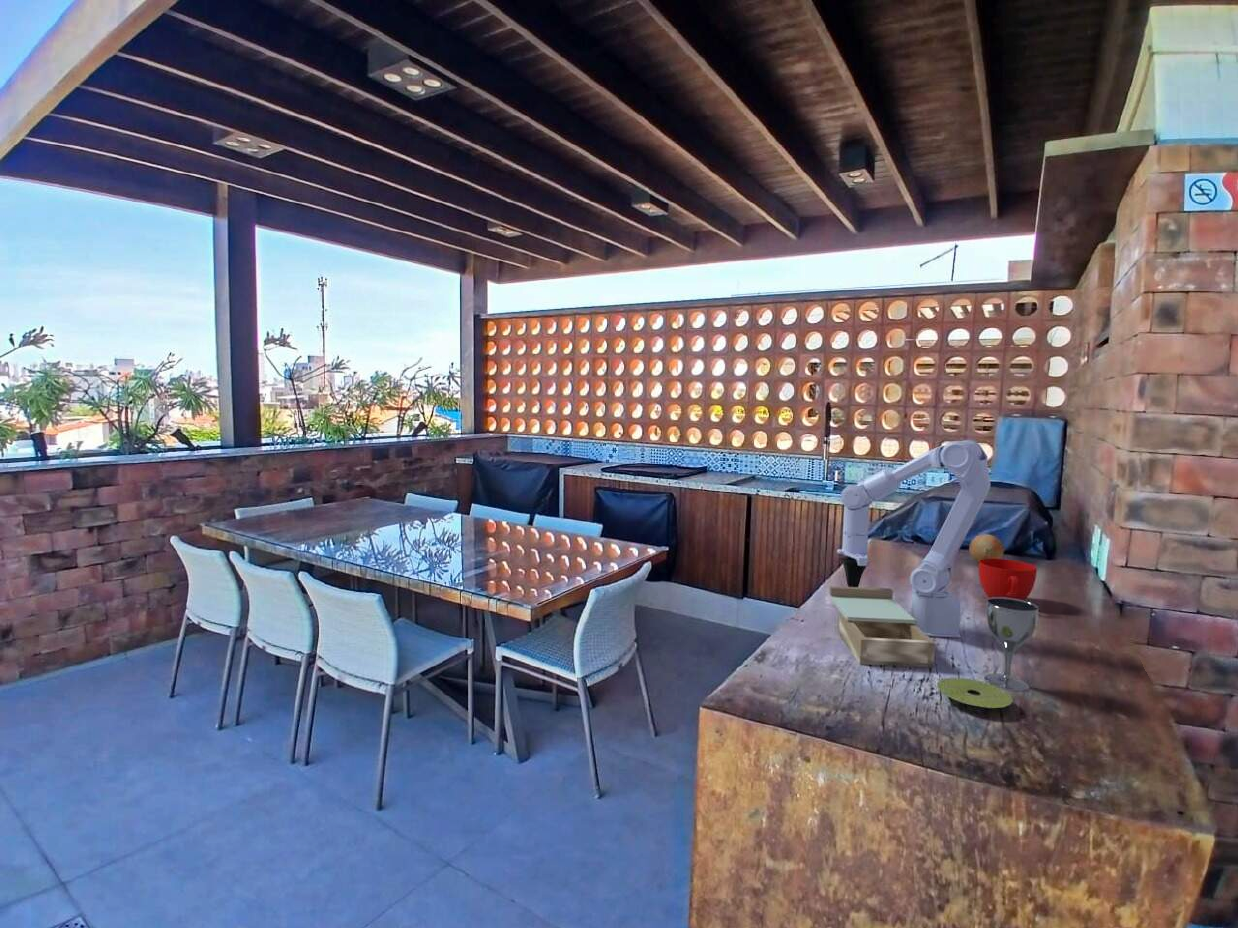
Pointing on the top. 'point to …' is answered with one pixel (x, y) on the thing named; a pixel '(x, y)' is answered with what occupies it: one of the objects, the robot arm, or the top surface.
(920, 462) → the robot arm
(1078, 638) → the top surface
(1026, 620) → the wine glass
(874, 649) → the box
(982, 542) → the onion
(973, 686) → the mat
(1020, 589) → the ceramic cup
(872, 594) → the lid
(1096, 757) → the top surface
